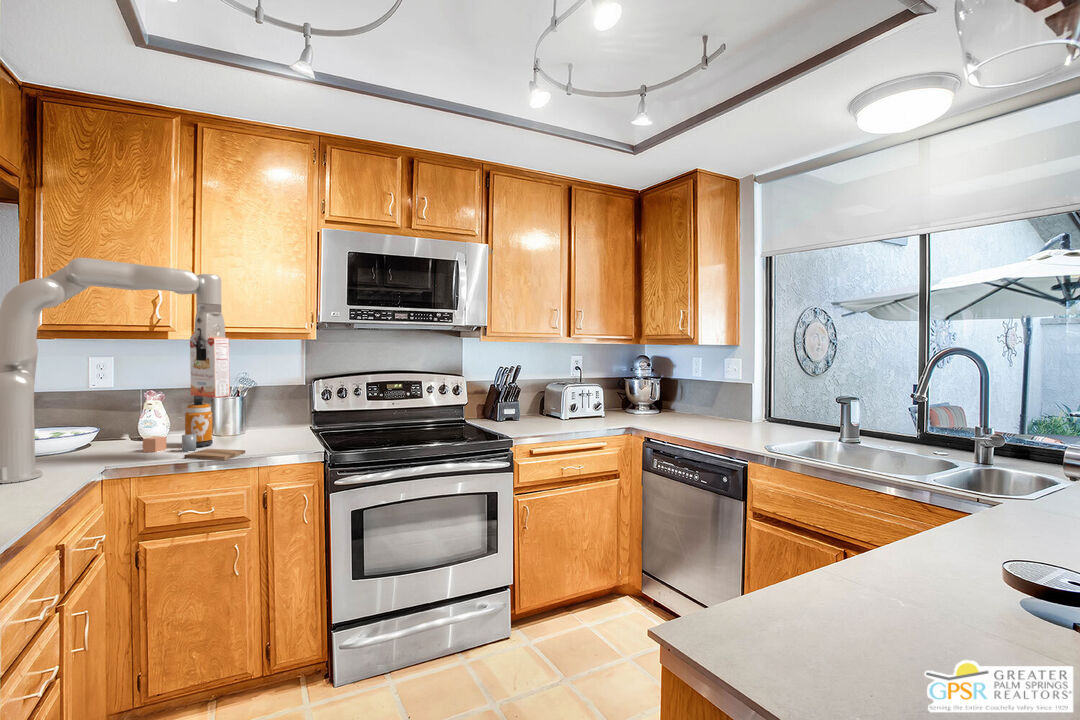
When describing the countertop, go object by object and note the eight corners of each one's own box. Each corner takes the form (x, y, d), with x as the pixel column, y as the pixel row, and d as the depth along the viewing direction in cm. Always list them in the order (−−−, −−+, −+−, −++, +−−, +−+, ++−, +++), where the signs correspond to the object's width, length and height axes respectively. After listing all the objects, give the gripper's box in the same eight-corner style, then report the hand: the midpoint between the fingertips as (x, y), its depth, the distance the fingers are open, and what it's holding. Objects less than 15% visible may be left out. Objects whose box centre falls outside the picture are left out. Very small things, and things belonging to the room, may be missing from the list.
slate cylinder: (190, 452, 198) (190, 436, 198) (179, 452, 198) (178, 435, 198) (199, 450, 202) (198, 434, 202) (188, 449, 203) (187, 433, 202)
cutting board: (224, 460, 186) (224, 456, 186) (184, 458, 188) (184, 455, 188) (245, 453, 197) (245, 450, 197) (207, 451, 199) (207, 448, 199)
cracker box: (189, 395, 192) (188, 336, 191) (206, 394, 197) (205, 336, 197) (213, 398, 186) (213, 337, 185) (230, 396, 191) (230, 337, 190)
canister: (186, 449, 203) (185, 396, 203) (184, 444, 212) (183, 393, 212) (213, 446, 209) (213, 394, 208) (210, 441, 218) (210, 392, 217)
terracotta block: (155, 452, 197) (155, 439, 197) (143, 452, 197) (142, 438, 197) (166, 450, 202) (166, 436, 202) (154, 449, 202) (154, 436, 202)
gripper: (201, 308, 181) (201, 361, 182) (235, 311, 199) (235, 359, 199) (180, 308, 182) (181, 360, 183) (216, 311, 199) (216, 359, 200)
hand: (209, 359), depth 191 cm, fingers closed on cracker box, 7 cm apart
